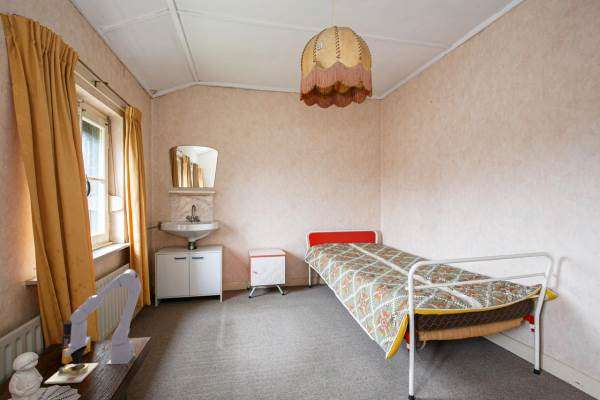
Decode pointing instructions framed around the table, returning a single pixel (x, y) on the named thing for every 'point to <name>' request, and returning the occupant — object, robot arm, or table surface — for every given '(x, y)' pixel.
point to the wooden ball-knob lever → (73, 369)
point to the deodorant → (66, 334)
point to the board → (70, 378)
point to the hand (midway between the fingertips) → (77, 363)
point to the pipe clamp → (69, 358)
